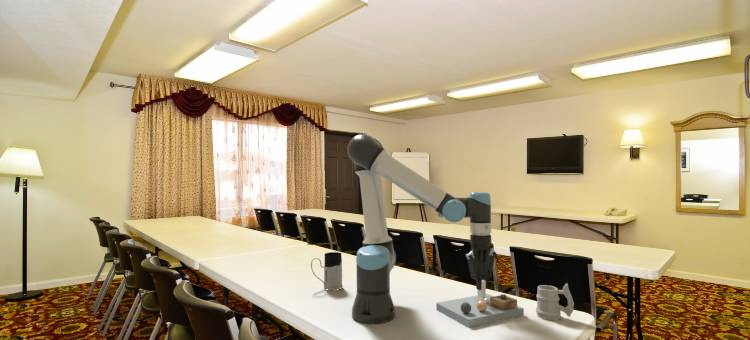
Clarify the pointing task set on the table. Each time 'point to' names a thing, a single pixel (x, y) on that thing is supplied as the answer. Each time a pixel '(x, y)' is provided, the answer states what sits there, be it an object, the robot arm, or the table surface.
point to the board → (476, 311)
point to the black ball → (465, 307)
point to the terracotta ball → (481, 306)
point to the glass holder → (332, 271)
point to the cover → (503, 302)
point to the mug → (552, 302)
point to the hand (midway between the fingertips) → (481, 298)
